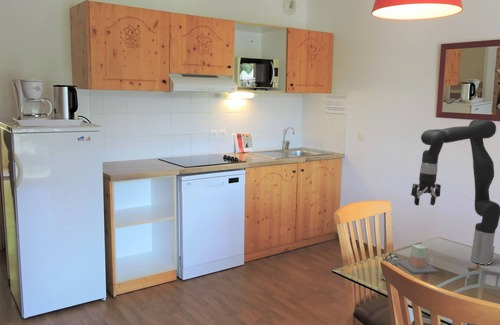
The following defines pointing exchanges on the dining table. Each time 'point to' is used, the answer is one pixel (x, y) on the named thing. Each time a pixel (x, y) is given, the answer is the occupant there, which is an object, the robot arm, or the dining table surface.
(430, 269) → the baseplate
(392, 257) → the food container
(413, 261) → the terracotta brick
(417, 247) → the sage brick
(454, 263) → the dining table surface
